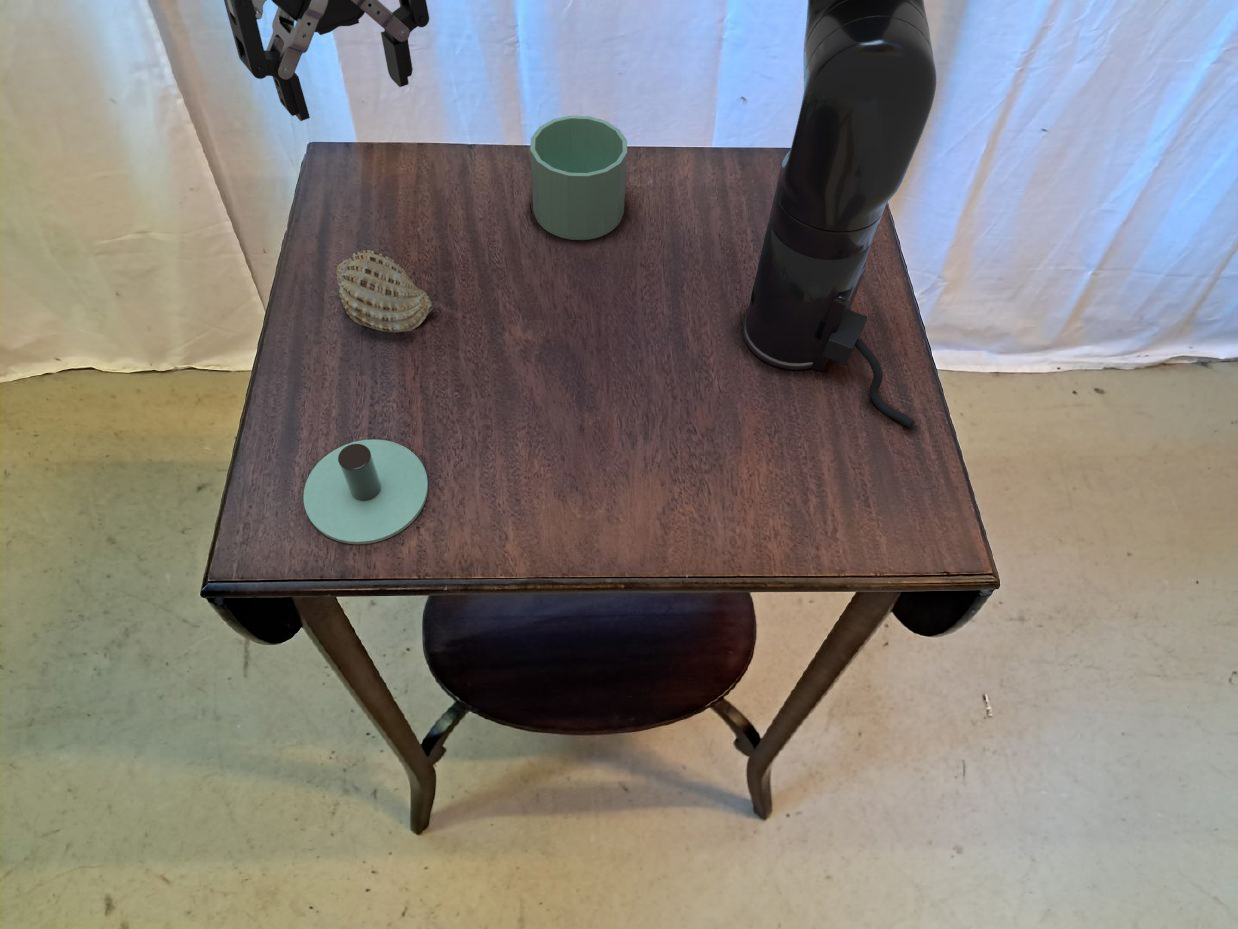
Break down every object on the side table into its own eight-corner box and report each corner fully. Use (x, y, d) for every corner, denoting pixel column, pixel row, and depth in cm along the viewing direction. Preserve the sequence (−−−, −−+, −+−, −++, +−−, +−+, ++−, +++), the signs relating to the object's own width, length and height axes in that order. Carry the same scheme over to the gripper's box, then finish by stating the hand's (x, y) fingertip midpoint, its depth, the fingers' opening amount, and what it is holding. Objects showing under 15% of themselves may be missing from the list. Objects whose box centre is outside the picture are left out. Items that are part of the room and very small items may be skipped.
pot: (622, 181, 101) (626, 116, 94) (624, 241, 96) (628, 176, 89) (535, 179, 101) (532, 114, 94) (531, 239, 95) (528, 174, 88)
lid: (435, 446, 79) (425, 406, 74) (422, 548, 73) (411, 512, 69) (317, 445, 79) (301, 404, 74) (295, 547, 73) (275, 510, 68)
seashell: (431, 304, 93) (338, 262, 90) (449, 268, 88) (352, 223, 85) (411, 358, 89) (313, 317, 85) (429, 324, 84) (326, 279, 81)
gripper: (213, -80, 53) (286, 153, 66) (425, -133, 58) (453, 93, 71) (167, -129, 56) (246, 102, 69) (372, -175, 61) (408, 48, 74)
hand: (351, 97), depth 70 cm, fingers open, 8 cm apart
